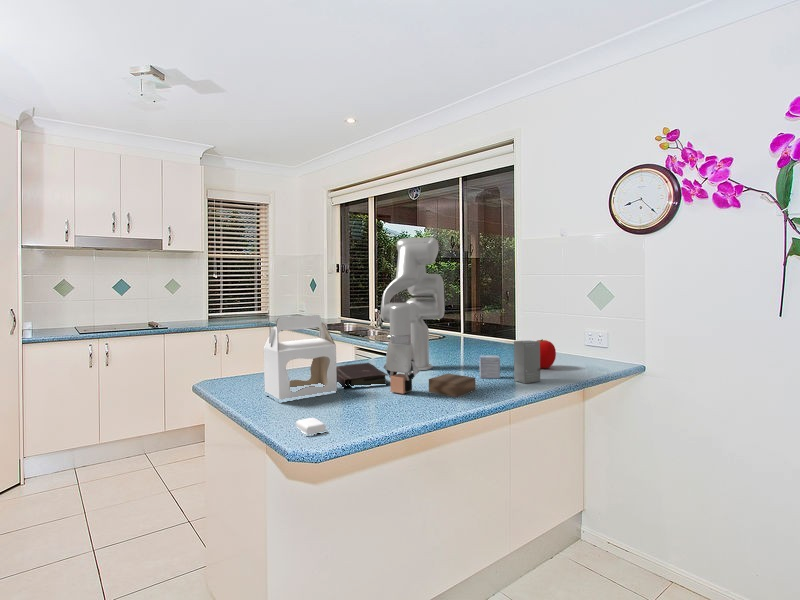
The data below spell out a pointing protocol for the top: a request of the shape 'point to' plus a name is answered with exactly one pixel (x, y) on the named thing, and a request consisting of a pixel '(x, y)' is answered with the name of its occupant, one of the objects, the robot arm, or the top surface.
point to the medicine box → (489, 367)
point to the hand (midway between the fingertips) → (401, 389)
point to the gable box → (283, 352)
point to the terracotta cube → (398, 383)
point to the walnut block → (452, 385)
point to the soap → (310, 426)
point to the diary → (359, 374)
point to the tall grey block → (527, 361)
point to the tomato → (546, 353)
